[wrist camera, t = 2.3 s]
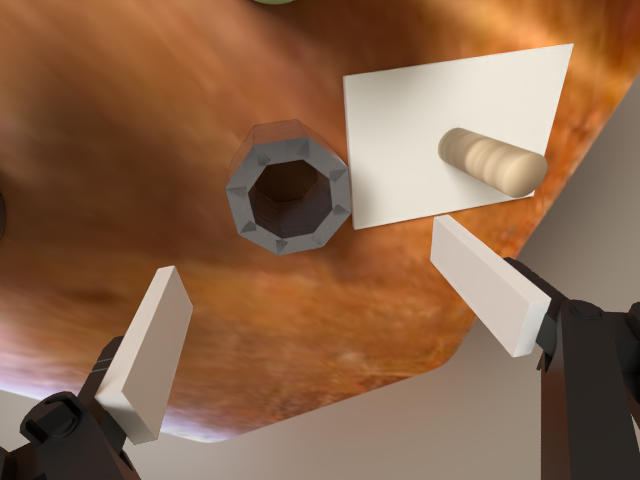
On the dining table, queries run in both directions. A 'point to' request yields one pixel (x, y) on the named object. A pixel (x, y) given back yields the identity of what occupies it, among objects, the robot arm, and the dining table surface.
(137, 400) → the robot arm
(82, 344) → the dining table surface
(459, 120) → the base board
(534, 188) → the post
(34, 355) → the dining table surface
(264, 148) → the ring
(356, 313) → the dining table surface
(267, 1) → the mug
